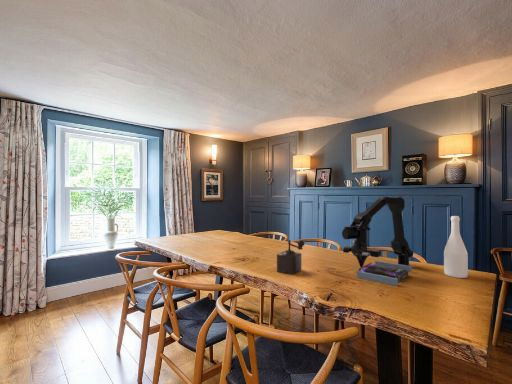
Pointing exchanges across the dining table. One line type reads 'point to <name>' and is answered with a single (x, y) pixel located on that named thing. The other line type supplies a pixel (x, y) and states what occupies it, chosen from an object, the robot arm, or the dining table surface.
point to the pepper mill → (290, 260)
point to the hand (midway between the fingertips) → (361, 267)
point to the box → (385, 271)
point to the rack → (382, 278)
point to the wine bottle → (455, 253)
